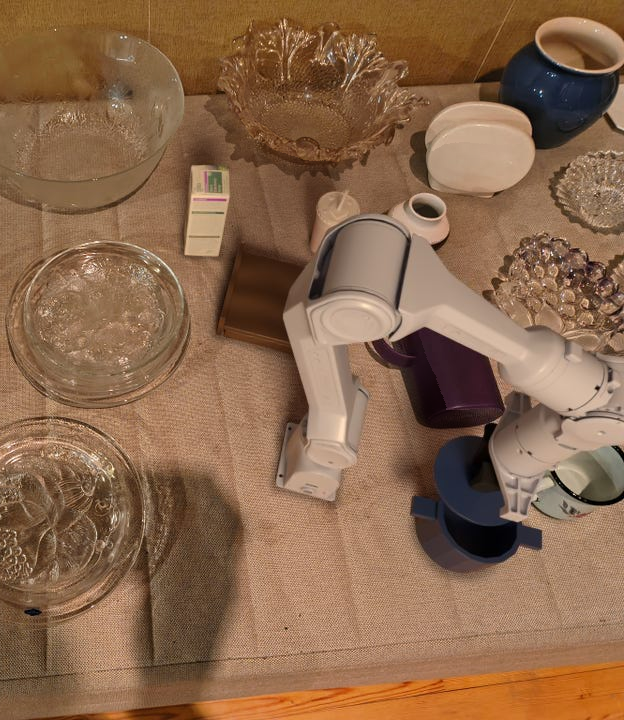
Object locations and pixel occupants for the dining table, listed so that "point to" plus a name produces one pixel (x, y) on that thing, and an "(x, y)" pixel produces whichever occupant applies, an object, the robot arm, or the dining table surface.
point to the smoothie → (332, 214)
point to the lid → (465, 483)
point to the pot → (467, 537)
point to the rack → (258, 301)
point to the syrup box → (206, 210)
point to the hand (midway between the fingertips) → (478, 476)
